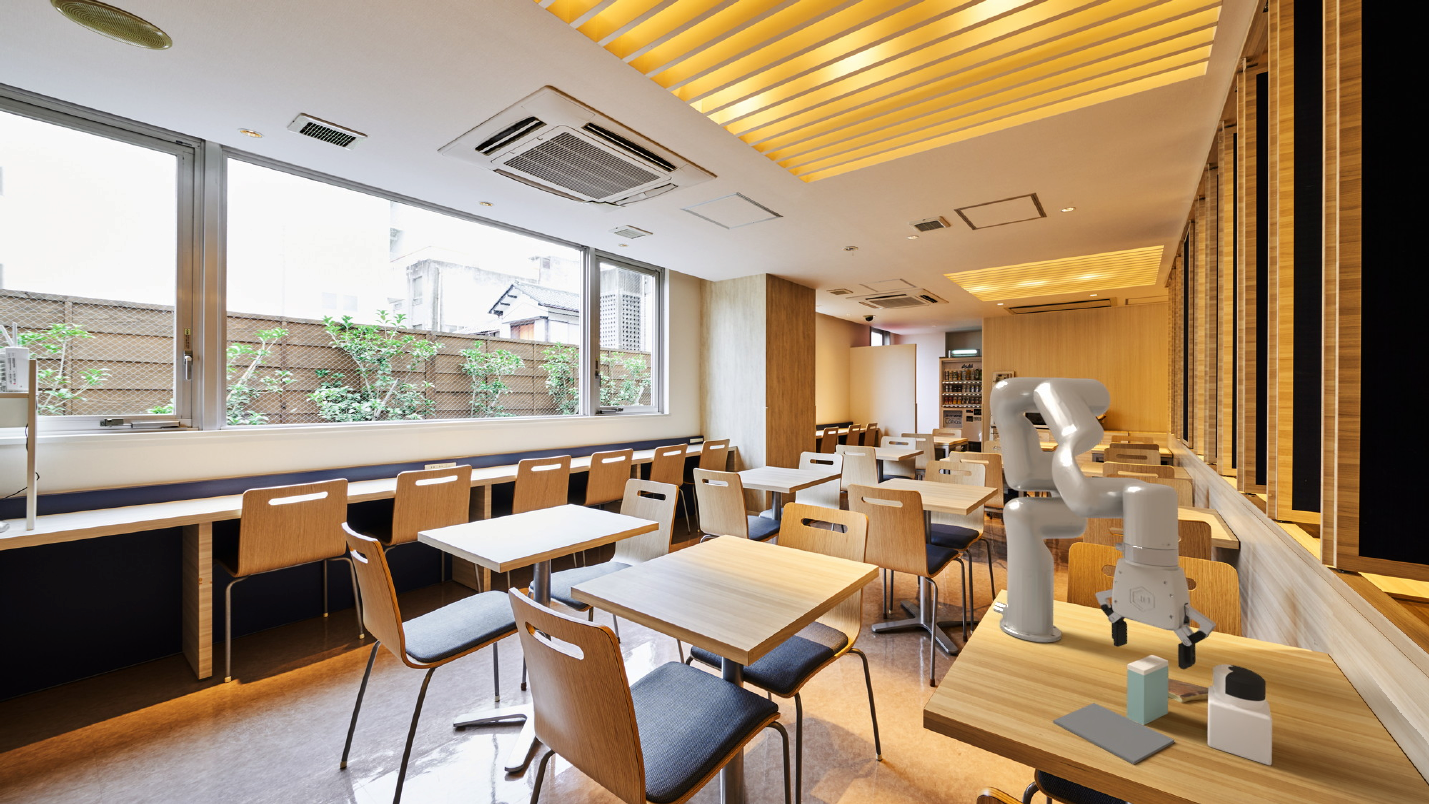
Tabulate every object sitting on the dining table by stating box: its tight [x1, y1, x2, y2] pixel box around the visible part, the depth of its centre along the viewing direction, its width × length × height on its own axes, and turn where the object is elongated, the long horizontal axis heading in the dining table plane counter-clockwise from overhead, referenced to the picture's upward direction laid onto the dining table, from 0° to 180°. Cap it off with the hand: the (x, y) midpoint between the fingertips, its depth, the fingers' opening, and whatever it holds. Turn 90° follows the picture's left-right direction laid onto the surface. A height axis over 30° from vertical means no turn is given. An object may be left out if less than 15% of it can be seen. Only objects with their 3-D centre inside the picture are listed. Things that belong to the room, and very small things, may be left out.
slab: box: [1126, 654, 1169, 726], centre depth 96 cm, size 2×8×9 cm, turn 117°
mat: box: [1052, 702, 1175, 765], centre depth 91 cm, size 12×12×1 cm
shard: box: [1168, 677, 1208, 704], centre depth 102 cm, size 11×8×2 cm
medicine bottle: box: [1207, 664, 1273, 766], centre depth 88 cm, size 7×7×12 cm
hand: (1151, 655), depth 95 cm, fingers open, 9 cm apart
